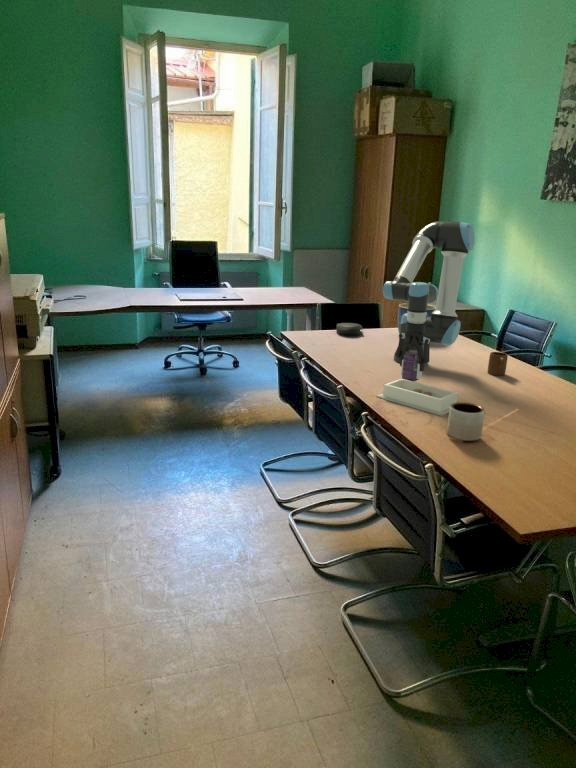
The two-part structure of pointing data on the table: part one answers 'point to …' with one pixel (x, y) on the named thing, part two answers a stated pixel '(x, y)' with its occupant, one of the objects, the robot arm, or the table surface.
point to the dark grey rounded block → (348, 329)
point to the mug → (497, 363)
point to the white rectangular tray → (419, 396)
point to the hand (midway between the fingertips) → (411, 376)
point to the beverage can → (410, 365)
